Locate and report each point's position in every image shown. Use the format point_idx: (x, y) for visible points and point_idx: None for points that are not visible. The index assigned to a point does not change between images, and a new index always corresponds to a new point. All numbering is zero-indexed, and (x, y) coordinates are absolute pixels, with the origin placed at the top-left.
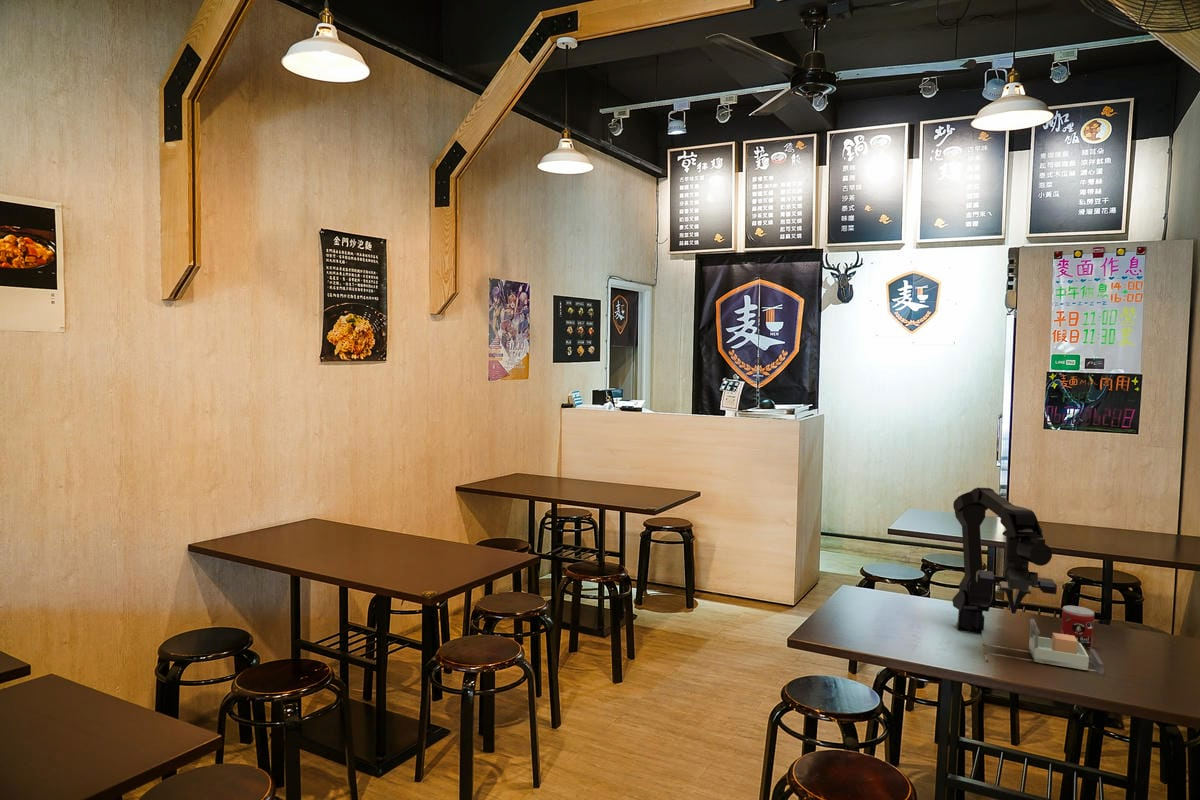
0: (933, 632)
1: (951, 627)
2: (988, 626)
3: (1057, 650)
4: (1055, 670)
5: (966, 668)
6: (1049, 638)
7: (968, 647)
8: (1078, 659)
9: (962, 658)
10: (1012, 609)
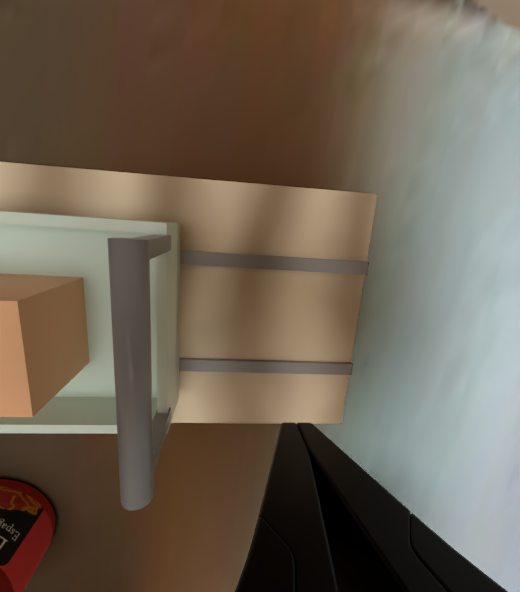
0: (478, 447)
1: None
2: None
3: (50, 284)
4: None
5: (469, 75)
6: (75, 430)
7: (395, 347)
8: None
9: (451, 204)
10: (319, 443)
